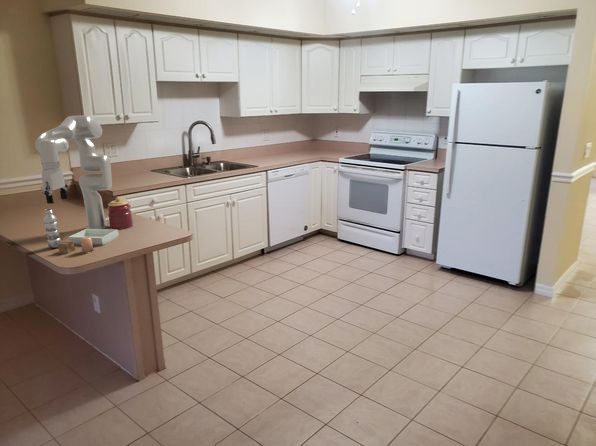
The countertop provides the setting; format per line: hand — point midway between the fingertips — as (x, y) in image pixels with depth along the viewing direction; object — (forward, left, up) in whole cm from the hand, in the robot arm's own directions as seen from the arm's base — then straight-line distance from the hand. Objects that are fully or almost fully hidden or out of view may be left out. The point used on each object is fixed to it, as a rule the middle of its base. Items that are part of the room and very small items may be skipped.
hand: (57, 201), depth 224 cm
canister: (-44, +3, -26) cm, 51 cm away
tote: (-18, +3, -26) cm, 32 cm away
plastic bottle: (-6, -11, -26) cm, 29 cm away
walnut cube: (0, 0, -26) cm, 26 cm away
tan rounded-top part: (-1, +11, -26) cm, 28 cm away
